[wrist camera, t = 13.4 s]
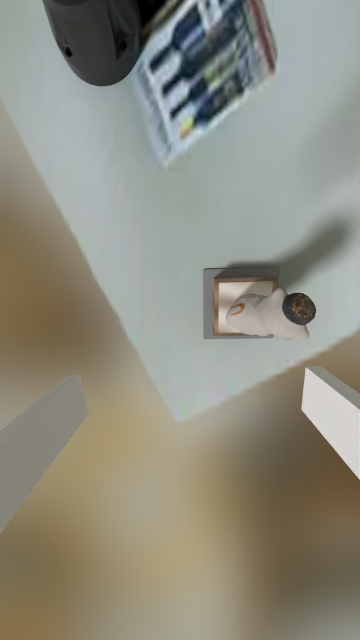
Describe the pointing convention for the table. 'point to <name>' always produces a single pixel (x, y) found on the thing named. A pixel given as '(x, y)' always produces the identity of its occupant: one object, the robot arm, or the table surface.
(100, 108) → the table surface
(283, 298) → the figurine
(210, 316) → the mat
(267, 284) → the plinth
